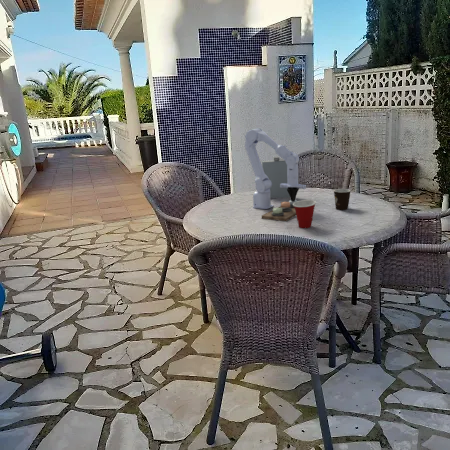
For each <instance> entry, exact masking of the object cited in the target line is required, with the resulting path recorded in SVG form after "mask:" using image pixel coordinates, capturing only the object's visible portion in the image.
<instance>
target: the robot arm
mask: <svg viewBox="0 0 450 450" xmlns="http://www.w3.org/2000/svg"><path fill="white" fill-rule="evenodd" d="M244 137H245V140H244V141H245V142H244V147H245V151H246V153H247V156H248V159H249V161H250V165H251V169H252V171H253V173H254V176H255V179H254V183H255V192H253V194H252V196H253V197H252V201H253V202H252V203H253V206H252V208H253V209H261V210H269V209H270V208H274V206H275V205H274V204H272V203H271V199H272V198H271V196H270V188H271V187H272V183H271V181H270V180H269V178H268V176H267V175H266V174H265V173H264V170H263V167H262V162H261V159H260V156H259V154H258V151H257V148H256V146H257V144H258V143H259V142H263V143H265V144H267V146H269V147H271V148H272V149H273V150H274V152H275V154H276V155H277V156H278V157H280V158H281V159H284V160H285V162H286V164H287V181H288V184H283V183H282V184H280V188H282V187H284V188H288V189H287V191H288V193H289V195H290V198H289V199H290V200H291V201H295V200H296V198H297V194H298V192H299V190H305V189H307V185H306V184H301V183H299V161H300V156H299V154H298V153H296V152H293V150H289V148H287V146H286V145H285V144H279V143H277V141H275V139H273V138H272V137H271V136H270V135H268V134H267V132H266V131H265V130H263V129H261V128H259V127H257V128H253V129H249V130H247V131H246V133H245V135H244Z"/></svg>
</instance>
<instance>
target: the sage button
mask: <svg viewBox="0 0 450 450" xmlns="http://www.w3.org/2000/svg"><path fill="white" fill-rule="evenodd" d="M272 210H273V213H274V214H280V213H282V208H278V207H272Z"/></svg>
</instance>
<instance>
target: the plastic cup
mask: <svg viewBox="0 0 450 450" xmlns="http://www.w3.org/2000/svg"><path fill="white" fill-rule="evenodd" d="M316 203H317V201H316V200H312V199H305V200H304V199H301V200H297V202H294V203H293V206H294V208H295V210H296V216H295V217H296V221H297V224H298V227H299V229H310V228H311V227H312V224H313V219H314V212H315V208H316Z"/></svg>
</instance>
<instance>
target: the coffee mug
mask: <svg viewBox="0 0 450 450" xmlns="http://www.w3.org/2000/svg"><path fill="white" fill-rule="evenodd" d="M351 192H352V191H351V189H348V188H337V189H334V190H333V195H334V204H335V205H334V207H335V210H337V211H348V209H349V204H350V197H351Z"/></svg>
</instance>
